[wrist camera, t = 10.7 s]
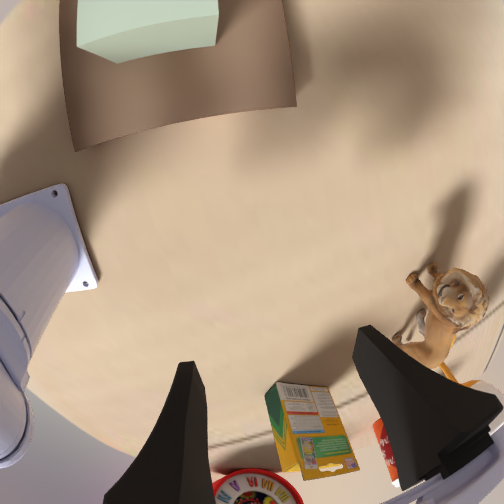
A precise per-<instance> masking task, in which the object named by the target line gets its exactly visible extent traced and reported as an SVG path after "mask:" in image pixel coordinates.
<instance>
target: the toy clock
mask: <svg viewBox="0 0 504 504" xmlns="http://www.w3.org/2000/svg"><path fill="white" fill-rule="evenodd" d="M212 486H213V491H214V496H215V501H216V504H304V503H303V500H302V498H301V497H300V495H299V493H298V492H297V491H296V489H295V488H294V487H293V486H292V485H291V484H290V483H289V482H288V481H286V480H285V479H284V478H282V477H281V476H279V475H277V474H275V473H272V472H270V471H266V470H262V469H254V468H251V469H242V470H238V471H235V472H233V473H230V474H228V475H227V476H225V477H223V478H221V479H219V480H217V481H215V482H214V483H212Z"/></svg>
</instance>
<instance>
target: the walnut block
mask: <svg viewBox="0 0 504 504" xmlns="http://www.w3.org/2000/svg"><path fill="white" fill-rule="evenodd" d="M77 8H78V0H60V5H59V34H60V54H61V67H62V77H63V86H64V94H65V101H66V107H67V113H68V119H69V125H70V130H71V135H72V140H73V145H74V149H75V152H77V151H79V150H82V149H85V148H88V147H91V146H94V145H97V144H100V143H103V142H106V141H109V140H113V139H116V138H119V137H123V136H126V135H130V134H133V133H137V132H141V131H145V130H148V129H152V128H157V127H161V126H165V125H169V124H174V123H179V122H184V121H189V120H194V119H199V118H205V117H210V116H216V115H223V114H229V113H237V112H244V111H252V110H262V109H272V108H284V107H297V104H296V95H295V86H294V78H293V70H292V62H291V55H290V48H289V41H288V34H287V28H286V22H285V16H284V10H283V4H282V0H218V10H219V18H218V26H217V34H216V42H215V46H208V47H199V48H191V49H184V50H178V51H172V52H166V53H161V54H156V55H151V56H146V57H142V58H137V59H133V60H129V61H125V62H122V63H118V64H117V63H114V62H112V61H110V60H108V59H105V58H103V57H101V56H98V55H96V54H94V53H91V52H89V51H86V50H84V49H81V48H79V47H77Z"/></svg>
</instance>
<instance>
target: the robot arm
mask: <svg viewBox="0 0 504 504" xmlns="http://www.w3.org/2000/svg"><path fill="white" fill-rule="evenodd" d="M54 190H56V191H57V194H58V195H57V196H56V195H55V194H54ZM84 281H86V282H88V284H86V283H85V282H84ZM97 285H98V278H97V276H96V273H95V271H94V268H93V266H92V263H91V260H90V257H89V255H88V252H87V249H86V246H85V243H84V240H83V237H82V234H81V231H80V228H79V225H78V222H77V218H76V215H75V212H74V208H73V205H72V201H71V197H70V194H69V190H68V187H67V186H66V184H64V183H60V184H57V185H54V186H51V187H48V188H45V189H42V190H39V191H36V192H33V193H30V194H27V195H24V196H22V197H19V198H16V199H14V200H11V201H8V202H6V203H3V204H1V205H0V469H1V468H5V467H8V466H11V465H13V464H14V463H16V462H17V461H18V460H20V458H21V457H22V456H23V455H24V454H25V452H26V451H27V449H28V447H29V445H30V442H31V440H32V436H33V429H34V417H33V412H32V408H31V405H30V402H29V400H28V398H27V396H26V395H25V393H24V391H25V388H26V386H27V383H28V380H29V378H30V376H29V374H28V372H27V367H28V364H29V362H30V360H31V358H32V355H33V353H34V351H35V349H36V347H37V345H38V343H39V340H40V338H41V336H42V334H43V332H44V330H45V328H46V327H47V325H48V323H49V321H50V319H51V317H52V315H53V313H54V311H55V310H56V308H57V306H58V304H59V302H60V301H61V299H62V297H63V295H64V294H65V292H72V291H79V290H87V289H94V288H96V287H97ZM352 358H353V361H354V363H355V366H356V369H357V371H358V374H359V376H360V378H361V380H362V382H363V384H364V386H365V388H366V390H367V392H368V393H369V395H370V397H371V399H372V401H373V403H374V405H375V407H376V409H377V410H378V412H379V415H380V417H381V419H382V422H383V424H384V427H385V430H386V433H387V436H388V439H389V442H390V445H391V448H392V452H393V456H394V459H395V463H396V468H397V473H398V478H399V484H400V487H401V489H402V491H404V490H406V489H408V488H410V487H412V486H414V485H416V484H418V483H419V482H421V481H423V480H425V482H424V483H422V484H420V485H418V486H416V487H414V488H413V489H411V490H409V491H407V492H405V493H403V494H401V495H399V496H396V497H395V498H392V499H390V500H388V501H386V502H383V503H381V504H409V503H410V502H412V501H414V500H416V499H417V501H416V504H478V503H479V502H480V501H482V500H483V498H485V496H487V495H488V494H489V493H490V492H491V491H492V490H493V489H494V488H495V487H496V486H497V484H499V483H500V482H501V481H502V480H503V478H504V425H502V426H501V427H500V428H499V429H498V430H497V431H496V432H494V433H493V434H492V435H491V436H490V434H489V433H488V432H490V431H491V428H490V427H489V424H490V423H491V422H492V421H493V420H494V419H495V418H496V417H497V416H498V415H499V414H500V413H501V412H502V410H503V408H504V407H503V405H502V404H501V402H500V401H499V399H498V398H497V396H496V395H495V394H491V393H487V392H482V391H479V390H475V389H472V388H469V387H466V386H464V385H461V384H459V383H456V382H454V381H452V380H450V379H447V378H445V377H443V376H441V375H440V374H438V373H436V372H434V371H432V370H431V369H429V368H427V367H426V366H424V365H423V364H421V363H420V362H418V361H417V360H415V359H414V358H412V357H411V356H409V355H408V354H407V353H406V352H404V351H403V350H402V349H400V348H399V347H398V346H396V345H395V344H394V343H393V342H391V341H390V340H389V339H388V338H386V337H385V336H384V335H383V334H381V333H380V332H379V331H378V330H376V329H375V328H374V327H373V326H371V325H368V326H364V327H361V328H359V329H358V334H357V338H356V343H355V348H354V352H353V356H352ZM103 504H216V501H215V496H214V491H213V486H212V480H211V474H210V467H209V460H208V434H207V402H206V394H205V387H204V385H203V382H202V380H201V377H200V375H199V372H198V370H197V367H196V365H195V362H194V361H189V362H180V363H179V364H178V367H177V371H176V374H175V377H174V380H173V383H172V386H171V389H170V392H169V394H168V397H167V399H166V402H165V405H164V407H163V409H162V412H161V414H160V416H159V418H158V420H157V422H156V425H155V426H154V428H153V430H152V432H151V434H150V436H149V438H148V439H147V441H146V443H145V445H144V446H143V448H142V449H141V451H140V452H139V454H138V456H137V457H136V458H135V460H134V461H133V463H132V464H131V465H130V467H129V468H128V469H127V471H126V472H125V473H124V474H123V476H122V477H121V478H120V479H119V480H118V481H117V482H116V483H115V484H114V486H113V487H112V488H111V489H110V490H109V491H108V492H107V493H106V494H105V495H104V500H103Z"/></svg>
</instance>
